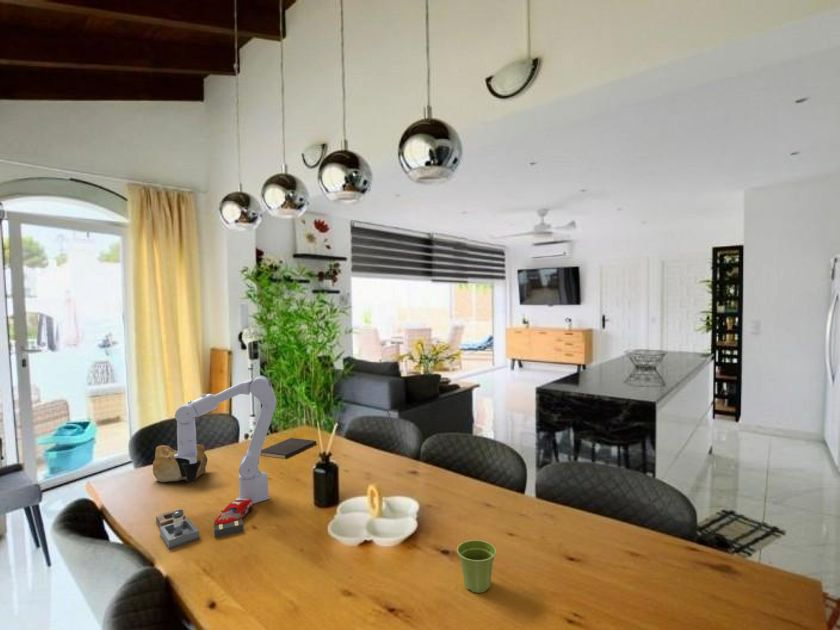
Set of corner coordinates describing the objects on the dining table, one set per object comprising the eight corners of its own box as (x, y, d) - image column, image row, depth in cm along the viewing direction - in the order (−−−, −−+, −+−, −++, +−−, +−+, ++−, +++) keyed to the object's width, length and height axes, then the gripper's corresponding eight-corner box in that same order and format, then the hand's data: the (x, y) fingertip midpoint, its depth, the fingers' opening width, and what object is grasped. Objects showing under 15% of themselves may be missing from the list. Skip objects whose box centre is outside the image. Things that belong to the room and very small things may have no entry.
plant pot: (454, 575, 112) (454, 540, 112) (491, 572, 113) (490, 538, 113) (461, 599, 103) (460, 562, 103) (501, 596, 103) (500, 559, 103)
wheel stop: (242, 528, 140) (242, 519, 140) (243, 532, 137) (243, 523, 137) (214, 534, 136) (214, 525, 136) (214, 538, 134) (214, 530, 134)
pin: (182, 531, 137) (181, 508, 137) (185, 535, 135) (184, 512, 134) (171, 535, 135) (170, 512, 135) (174, 538, 132) (173, 515, 132)
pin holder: (179, 515, 149) (179, 508, 149) (185, 522, 144) (185, 515, 144) (156, 522, 145) (155, 515, 145) (161, 529, 139) (160, 523, 139)
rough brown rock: (225, 475, 187) (225, 438, 188) (194, 487, 171) (194, 447, 173) (182, 472, 194) (182, 437, 196) (148, 483, 179) (148, 445, 180)
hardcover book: (258, 456, 210) (258, 451, 210) (291, 442, 231) (291, 437, 231) (285, 460, 203) (285, 455, 203) (316, 445, 224) (316, 440, 224)
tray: (188, 526, 141) (188, 518, 141) (199, 539, 133) (198, 530, 133) (160, 535, 136) (159, 527, 136) (169, 549, 128) (168, 540, 128)
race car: (230, 532, 137) (229, 516, 137) (210, 531, 138) (209, 516, 138) (256, 508, 153) (256, 494, 153) (238, 507, 154) (238, 493, 154)
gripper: (168, 438, 156) (169, 476, 156) (179, 447, 145) (181, 488, 145) (190, 433, 160) (191, 471, 161) (202, 442, 150) (204, 482, 150)
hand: (188, 479), depth 153 cm, fingers open, 7 cm apart
